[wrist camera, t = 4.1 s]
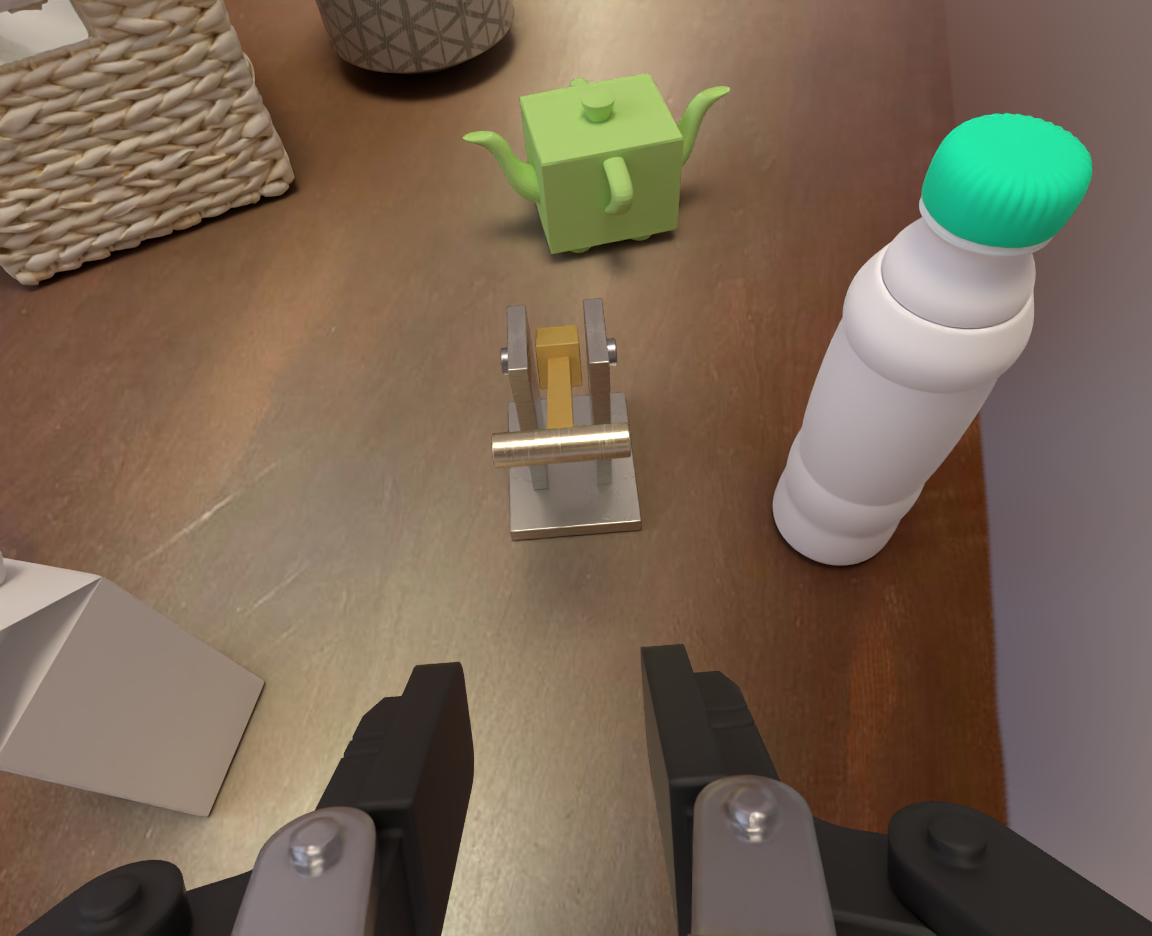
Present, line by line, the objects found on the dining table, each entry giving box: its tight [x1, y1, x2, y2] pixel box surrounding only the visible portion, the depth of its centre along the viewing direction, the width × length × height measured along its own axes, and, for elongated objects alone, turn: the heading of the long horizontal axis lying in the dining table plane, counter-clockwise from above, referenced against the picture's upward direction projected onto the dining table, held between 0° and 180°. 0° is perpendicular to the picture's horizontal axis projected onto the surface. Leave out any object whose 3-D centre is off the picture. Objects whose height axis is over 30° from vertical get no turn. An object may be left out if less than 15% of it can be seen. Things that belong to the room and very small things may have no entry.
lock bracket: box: [501, 298, 641, 540], centre depth 41 cm, size 10×8×13 cm
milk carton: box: [0, 552, 264, 817], centre depth 31 cm, size 7×7×19 cm
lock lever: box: [491, 325, 631, 469], centre depth 33 cm, size 12×6×2 cm, turn 4°
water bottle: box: [773, 113, 1092, 565], centre depth 33 cm, size 7×7×25 cm
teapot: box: [463, 73, 730, 254], centre depth 55 cm, size 15×13×11 cm
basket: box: [0, 0, 295, 285], centre depth 58 cm, size 27×27×22 cm
